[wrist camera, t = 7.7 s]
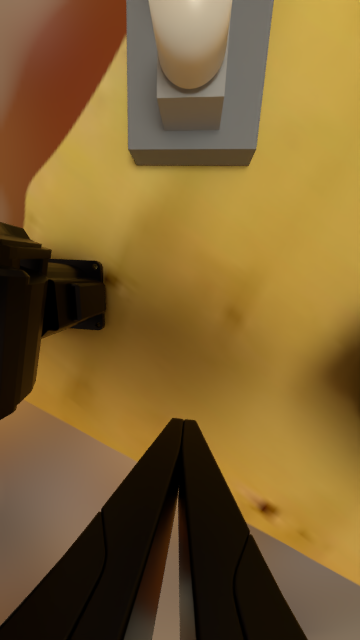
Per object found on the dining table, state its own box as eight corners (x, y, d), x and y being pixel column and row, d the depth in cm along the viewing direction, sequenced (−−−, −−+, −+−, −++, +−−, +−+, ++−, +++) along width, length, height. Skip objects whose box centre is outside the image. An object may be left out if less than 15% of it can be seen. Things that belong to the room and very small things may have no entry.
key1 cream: (164, 124, 13) (144, 33, 8) (166, 56, 12) (145, -92, 7) (218, 124, 13) (231, 28, 8) (223, 54, 12) (241, -102, 7)
